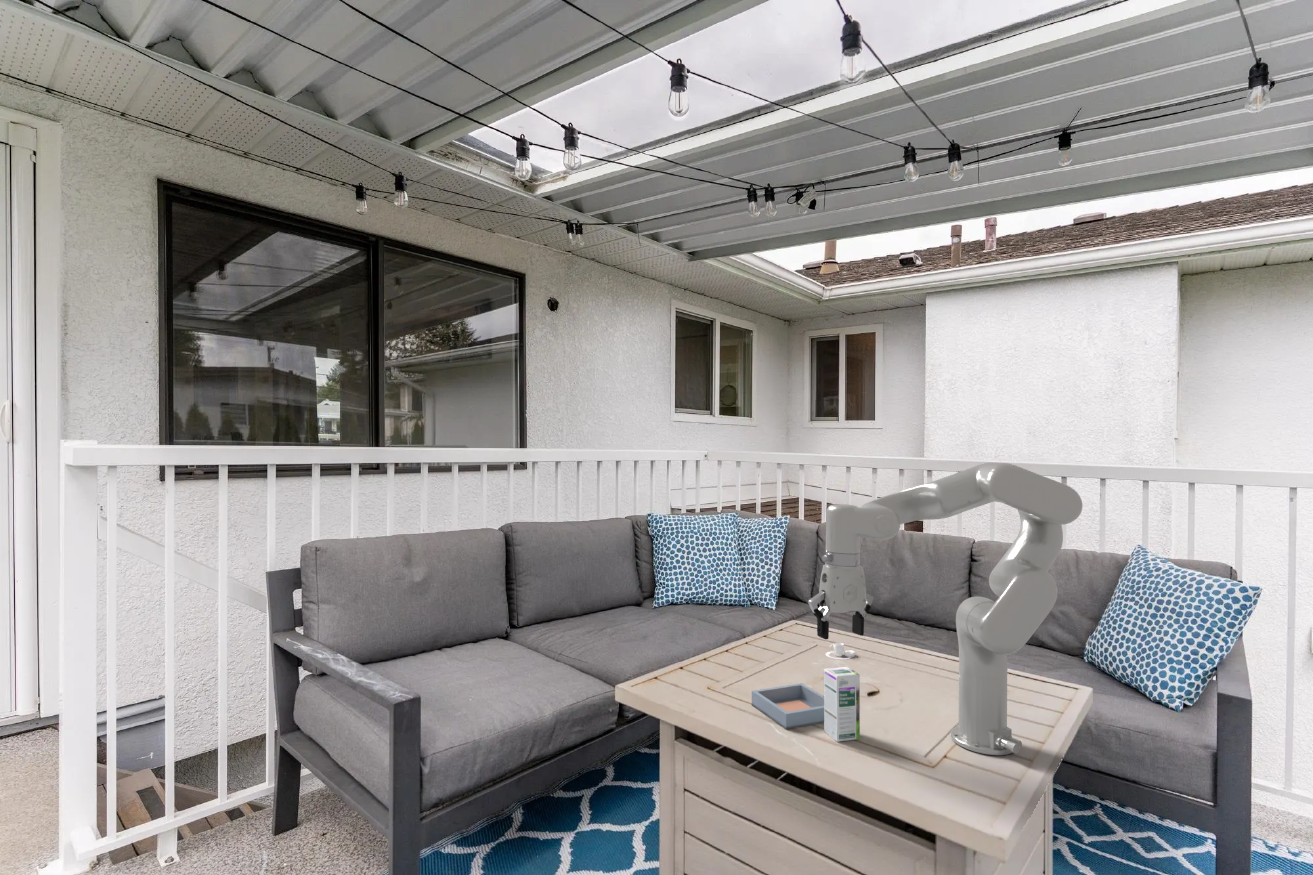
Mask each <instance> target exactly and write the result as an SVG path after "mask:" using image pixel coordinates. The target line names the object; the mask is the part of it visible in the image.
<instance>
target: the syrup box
mask: <svg viewBox="0 0 1313 875" xmlns="http://www.w3.org/2000/svg"><path fill="white" fill-rule="evenodd" d="M823 680H824V681H823V690H824V692H823V696H824V723H823V727H824V730H823V731H824V732H825V733H826V734H827V736H829V737H830V738H832V739H833V740H834V741H836V742H837V743H840V742H846V741H855V740H860V737H861V735H860V734H861V730H860V729H861V727H860V725H861V722H860V719H861V717H860V714H861V713H860V711H861V710H860V708H861V706H860V705H861V704H860V699H861V698H860V693H861V692H860V689H861V688H860V684H861V683H860V682H861V681H860V680H861V678H860V674H859V673H858V672H856V670H854V669H852V668H850V667H848V666H843V667H832V668H831V667H830V668H824V669H823Z"/></svg>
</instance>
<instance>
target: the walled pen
mask: <svg viewBox="0 0 1313 875" xmlns="http://www.w3.org/2000/svg"><path fill="white" fill-rule="evenodd" d="M751 706H753V707H754V708H755V709H757V710H758V711H759V712H760V713H761V714H763V715H765V716H766V717H768V718H769V719H770V720H771V721H773V722H774V723H776V724H777V725H779V726H780V727H782V729H784V730H791V729H796V728H801V727H807V726H813V725H818V724H824V694H821V693H819V691H816V690H814V689H812V688H811V687H809V686H807V685H806V684H804V683H803V682H802V683H794V684H787V685H781V686H774V687H768V688H762V689H761V688H760V689H755V690H751Z"/></svg>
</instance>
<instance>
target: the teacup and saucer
mask: <svg viewBox="0 0 1313 875" xmlns="http://www.w3.org/2000/svg"><path fill="white" fill-rule="evenodd" d="M831 646H833V650H832V649H831V648H832V647H831ZM844 648H845V644H844V643H843V642H839V641H838V642H837V641H836V642H833V643H832V644H830V645H829V650H830V651H827V652H825V656H826V657H828V658H830V659H834V660H840V661H841V660H850V659H852V658H853V657H855V656H856V654H857V652H856V651H855V650H851V649H850V650H845V651H844ZM831 654H833V655H834V656H835V657H834V656H832V655H831ZM843 655H844V657H845V658H844V657H843ZM838 657H839V658H838ZM841 657H843V658H841Z"/></svg>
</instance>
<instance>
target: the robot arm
mask: <svg viewBox="0 0 1313 875" xmlns="http://www.w3.org/2000/svg"><path fill="white" fill-rule="evenodd" d="M993 502H997V503H1000V504H1001V503H1002V504H1004V505H1007V506H1009V507H1011V508H1014V509H1016V510H1017V512H1018V515H1019V518H1020V529H1019V532H1018V534H1017V536H1016V538H1015V539H1014V541H1013V543H1011V545H1010V546H1009V548H1008V549H1007V550H1006V552H1005V553H1004V555H1002V557H1001V558H1000V560H999V561H998V563H997V564H996V565H995V566H994V568H993V569H992V570H991V572H990V574H989V577H988V585H989V587H990V589H991V590H992V592H993V593H994V594H995V595H996V596H997V597H998V598H997V599H996V601H994V600H993V599H990V598H988V597H984V596H971V597H968V598H965V599H964V600H963V601H962V602H961V603H960V604H959V606H958V607H957V610H956V614H955V626H956V627H955V628H956V634H957V642H958V643H957V644H958V726H957V725H956V726H955V727H953V728H952V729H950V738H951V739H952V741H953V742H955V744H957V745H958V746H960V747H962V748H964V749H966V750H969V751H971V752H975V753H978V754H981V755H982V754H983V755H989V756H1004V755H1005V756H1006V755H1010V754H1012V753H1013V754H1018V753H1019V751H1020V748H1021V747H1022V744H1023V742H1022V741H1021V740H1019V739H1017V738H1015V737H1013V736H1012V735H1013V734H1012V732H1013V731H1012V728H1010V727H1009V726H1008V658H1007V657H1008V655H1012V654H1014V653H1016V652H1018V651H1020V650H1021V649H1022V648H1023V647H1024V646H1025V645H1026V644H1027V642H1028V641H1029V640H1030V638H1031V637H1032V636H1033V634H1034V633H1035V632H1036V631H1037V630H1038V628H1039V627H1040V626H1041V625H1042V623H1043V622H1044V620H1045V619H1046V618H1047V616H1048V615H1049V614H1050V612H1051V611H1052V610H1053V608H1054V606H1055V604H1056V601H1057V599H1058V585H1057V581H1056V580H1055V578H1054V577H1053V576H1052V574H1051V573H1050V572H1049V570H1050V569H1051V567H1052V566H1053V564H1054V563H1055V561H1056V560H1057V558H1058V556H1060V555H1059V554H1060V553H1061V550H1062V547H1063V542H1064V533H1063V525H1068V524H1071V523H1073V522H1074V521H1076V520H1077V519H1078V518H1079V517H1080V515H1081V513H1082V511H1083V501H1082V498H1081V496H1080V495H1079V493H1078V492H1077V491H1076V490H1075V488H1073V487H1071V486H1069V485H1067V484H1064V483H1062V482H1060V481H1057V480H1054V479H1051V478H1049V477H1048V476H1047V477H1046V476H1044V475H1041V474H1038V473H1036V472H1034V471H1031V470H1028V469H1027V468H1023V467H1020V466H1018V465H1015V464H1012V463H1008V462H1007V463H1006V462H983V463H981V464H978V465H975V466H972V467H970V468H966V469H964V470H961V471H959V472H958V471H957V472H956V473H953V474H950V475H948V476H943V477H941V478H938V479H935V480H934V481H933V480H932V481H930V482H927V483H922V484H920V485H917V486H914V487H911V488H907V489H903V490H900V491H897V492H894V493H891V494H888V495H885V496H882V497H880V498H877V499H874V500H871V501H868V502H866V503H864V504H862V505H861V506H860V507H859V506H857V505H854V504H848V503H847V504H843V503H834V504H831V505H829V506H828V507H827V509H826V513H825V514H826V517H825V518H826V519H825V520H826V522H825V523H826V524H825V526H826V527H825V554H823V555H822V556H821V560H822V561H823V562H824V563H825V564H823V565H822V570H821V574H820V580H819V586H818V588H819V589H818V593H817V594H815V595H814V596H812V597H811V598H809V599H808V601H807V604H808V606H809V609H810V612H811V613H812V614H813V615H814V618H815V619H816V620H817V622H816V623H817V624H816V626H817V627H816V632H817V633H816V635H817V637H819V638H822V640H823V639H824V640H829V636H830V635H829V632H830V630H829V629H830V622H829V620H828V619H829V617H831V616H830V615H831V614H832V613H834V614H842V613H854V614H852V620H851V621H852V622H851V623H852V626H851V627H852V628H851V631H852V633H853V634H856V635H858V636H859V637H860V636H861V637H862V636H864V635H865V618H866V617H867V616H868V612H869V611H870V610H871V608H872V607H871V606H872V604H873V601H874V599H875V598H874V596H873V595H871V594H870V593H868V592H867V586H866V584H867V583H866V576H865V571H864V566H862V565H861V538H864V539H870V540H875V541H887V540H890V539H892V538H894V537H896V535H897V534H898V533H899V531H900V529H901V525H904V524H907V523H910V522H911V523H912V522H916V521H923V520H925V521H926V520H943V519H947V518H951V517H953V516H956V515H959V514H962V513H964V512H967V511H970V510H973V509H975V508H979V507H982V506H984V505H988V504H990V503H993ZM818 605H819V606H818Z"/></svg>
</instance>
